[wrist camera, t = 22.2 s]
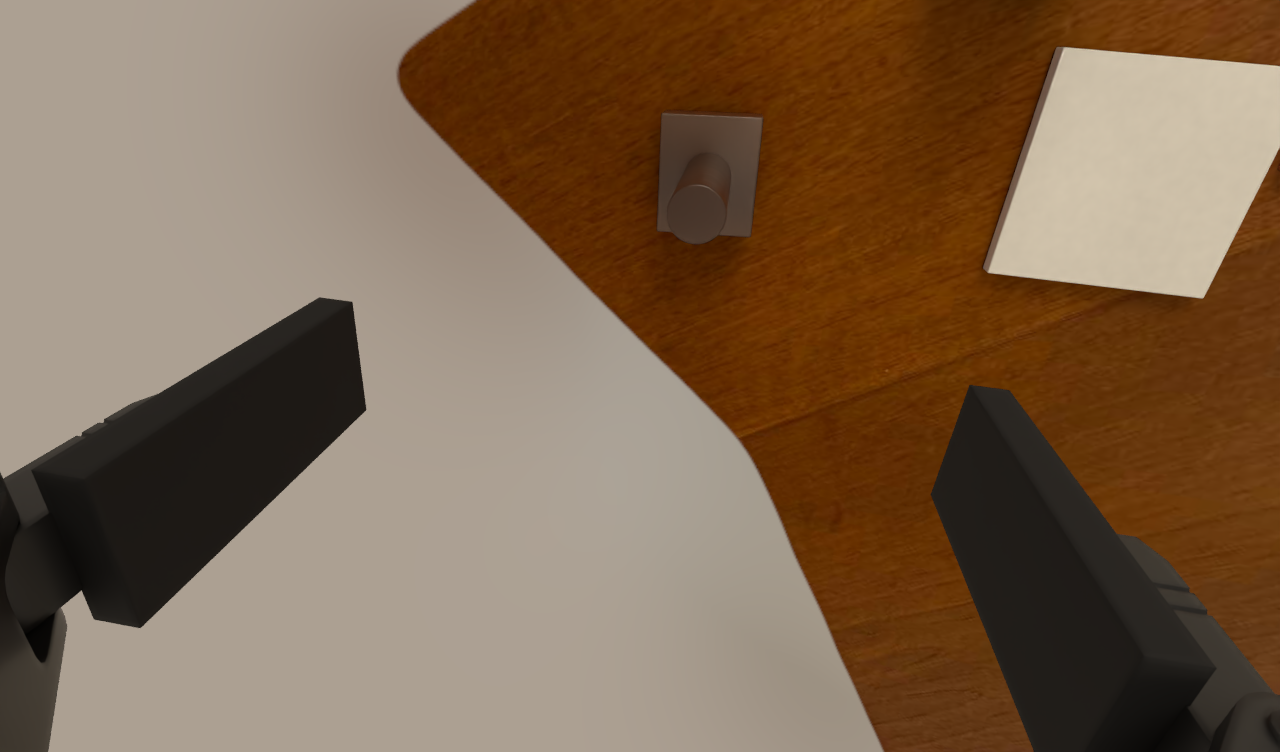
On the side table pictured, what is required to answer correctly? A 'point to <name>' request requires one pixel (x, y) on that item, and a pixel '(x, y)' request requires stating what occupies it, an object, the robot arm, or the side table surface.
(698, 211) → the stamp
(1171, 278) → the tile
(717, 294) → the side table surface
